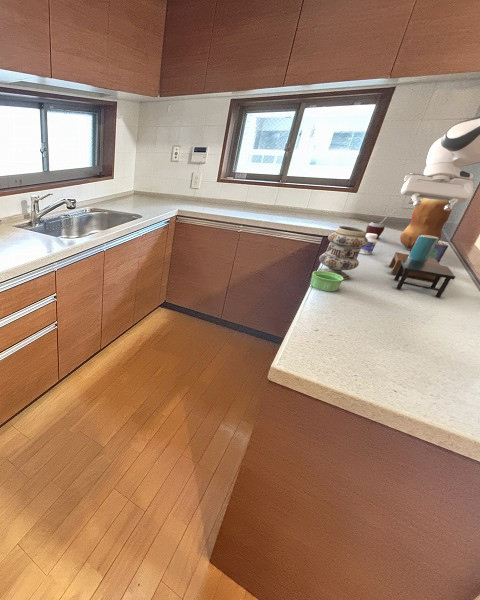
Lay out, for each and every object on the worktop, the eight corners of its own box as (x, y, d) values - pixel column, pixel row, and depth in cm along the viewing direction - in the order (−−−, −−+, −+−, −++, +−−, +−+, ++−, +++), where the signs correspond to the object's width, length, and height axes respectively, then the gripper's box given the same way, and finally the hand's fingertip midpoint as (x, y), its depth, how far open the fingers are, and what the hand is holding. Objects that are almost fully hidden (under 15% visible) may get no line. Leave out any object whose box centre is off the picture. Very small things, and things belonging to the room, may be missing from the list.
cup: (425, 259, 125) (437, 236, 121) (427, 262, 121) (440, 239, 117) (407, 256, 128) (418, 233, 124) (408, 259, 124) (420, 236, 120)
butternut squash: (396, 244, 164) (420, 193, 153) (432, 251, 156) (461, 197, 144) (393, 250, 155) (419, 196, 144) (432, 257, 147) (462, 200, 135)
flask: (409, 261, 140) (421, 237, 135) (407, 260, 142) (419, 236, 138) (438, 266, 136) (452, 241, 131) (436, 264, 138) (449, 240, 133)
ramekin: (307, 280, 119) (311, 268, 117) (336, 285, 116) (341, 273, 114) (309, 288, 112) (314, 277, 110) (341, 294, 109) (346, 282, 107)
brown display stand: (428, 273, 129) (435, 258, 126) (433, 282, 120) (441, 267, 117) (388, 266, 135) (395, 252, 132) (390, 274, 126) (398, 259, 124)
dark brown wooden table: (435, 287, 116) (447, 266, 112) (442, 298, 107) (455, 276, 104) (392, 278, 122) (402, 258, 119) (394, 289, 114) (405, 267, 110)
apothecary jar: (359, 282, 119) (381, 233, 110) (323, 279, 120) (342, 231, 112) (341, 270, 129) (360, 225, 121) (309, 267, 131) (325, 223, 123)
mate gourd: (361, 235, 179) (373, 207, 173) (379, 237, 176) (391, 209, 170) (365, 238, 173) (377, 210, 167) (383, 240, 170) (396, 211, 164)
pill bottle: (370, 255, 147) (379, 236, 143) (356, 252, 150) (364, 234, 146) (371, 252, 151) (379, 234, 147) (357, 250, 154) (365, 231, 150)
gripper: (411, 167, 127) (404, 198, 125) (479, 175, 120) (473, 208, 118) (400, 176, 133) (393, 206, 131) (465, 184, 126) (459, 216, 124)
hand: (432, 207), depth 125 cm, fingers open, 8 cm apart
